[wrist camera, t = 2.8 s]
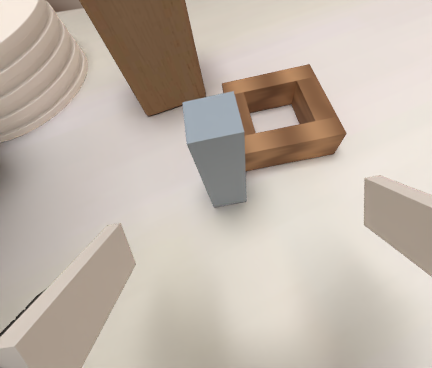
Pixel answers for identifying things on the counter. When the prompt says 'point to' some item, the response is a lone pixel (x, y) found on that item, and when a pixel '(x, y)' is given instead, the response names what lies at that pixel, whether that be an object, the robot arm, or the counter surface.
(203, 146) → the tall blue pillar
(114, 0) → the wooden block
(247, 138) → the square wooden frame
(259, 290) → the counter surface
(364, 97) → the counter surface
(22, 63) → the plate stack
